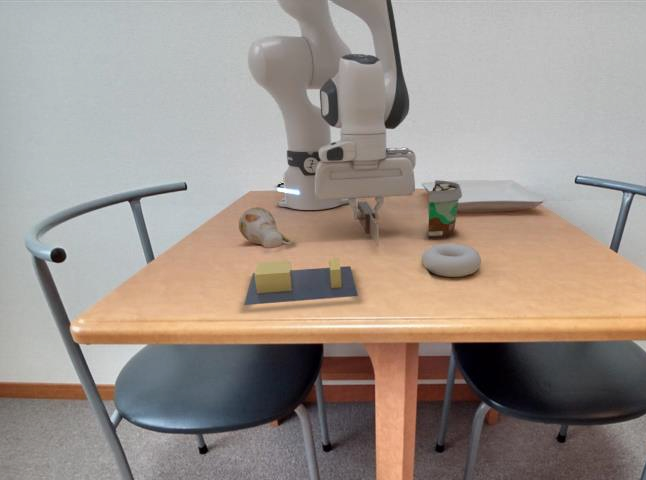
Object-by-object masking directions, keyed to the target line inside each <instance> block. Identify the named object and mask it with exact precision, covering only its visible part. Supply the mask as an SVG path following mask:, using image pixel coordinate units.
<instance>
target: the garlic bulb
mask: <svg viewBox="0 0 646 480" xmlns="http://www.w3.org/2000/svg"><path fill="white" fill-rule="evenodd" d="M277 225H278V224H277V222H276V219H275V217H274V215H273V214H272V212H270V211H269V210H267V209H265V208H263V207H260V206H259V207H257V206H256V207H251V208H248V209H246V210H245V211H244V212H243V213H242V214H241V216H240V218H239V221H238V230H239V232H240V234H241V236H243V237H244V239H246V241H248V242H250V243H253V244H257V245H261V246H262V247H264V248H265V249H273V248H276V247H280V246H281V245H282V246H283V245H293V242H292V241H291V240H290V239H289V238H287V237H286V236H285V235H284V234H282V233H281V232H280V231H278V226H277Z"/></svg>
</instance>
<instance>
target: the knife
mask: <svg viewBox="0 0 646 480" xmlns="http://www.w3.org/2000/svg"><path fill="white" fill-rule="evenodd" d="M372 209H373V208H372V207H371V205H370V204H369V203H368V201H367V200H365V201H363V200H362V201H357V210H361V211H362V220H358V222H359V224H360V225H361V228H362V229H363V232H364V233H365V235H370V237H371V238H372V241H373V243H374V244H375V247H376V248H378V249H379V248H380V241H379V240H380V239H379V224H378V223H377V221H376V219H375V213H374V211H373V210H372Z"/></svg>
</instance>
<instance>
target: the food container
mask: <svg viewBox="0 0 646 480" xmlns="http://www.w3.org/2000/svg"><path fill="white" fill-rule="evenodd" d="M449 181H450V180H439V179H438V180H437V179H435V180H434V182H435V187H434V188H433V190H432V191H429V194H428V228H427V229H428V231H427V233H428V234H427V239H428V240H443V239H448V238H450V237H452V236H454V234H455V228H456V222H457V221H456V219H457V207H458V199H460V198H461V197H462V193H461V188H460V185H459V184H457V183H454V182H449Z"/></svg>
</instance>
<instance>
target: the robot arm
mask: <svg viewBox="0 0 646 480" xmlns="http://www.w3.org/2000/svg"><path fill="white" fill-rule="evenodd" d="M276 1H277V3H278V5H279V7H280V8H281V9H282V11H284V12H285V13H286V14H287V15H288V16H290V17H292V18H293V19H294V20H296V22H297V24H298V26H299V28H300V34H301V36H293V35H292V36H291V35H270V36H263V37H261V38H255V39H254V41H252V43H251V45H250V46H249V50H248V53H247V65H248V69H249V72H250V74H251V77H252V78H253V80H254V81H255V82H256V84H258V86H260V87H261V88H263V89H264V90H265V91H266V92H267V93H268V94H269V95H270V96H271V97H272V98H273V100H274V101H275V103H276V104H277V106H278V108H279V110H280V113H281V115H282V118H283V122H284V127H285V135H286V142H287V150H286V160H287V165H288V168H287V169H286V170H285V172H284V173H283V176H282V177H283V178H282V179H283V181H282V182H284V183H281V182H280V183H281V184H279V183H278V184H277V186H276V189H277V192H280V193H284V197H283V198H281V200H279V201H278V207H281V208H289V209H293V210H297V211H298V210H301V211H319V210H320V211H321V210H327V209H332V208H337V207H339V206H341V205H346V204H348V205H349V206H350V208H351V209H352V211H353V215H354V216H353V217H354V221H359V220H362V211H361V210H358V208H357V207H356V205H355V204H357V199H367V198H368V199H369V198H370V199H371V198H374V200H375V202H376V203H375V206H374V208H372V210H373V211H374V213H375V220H377V219H379V211H380V210H381V207H382V205H383V204H384V198H389V197H405V196H412V195H413V194H414V192H415V191H416V181H415V172H414V169H415V168H416V164H417V163H416V161H417V160H416V159H417V157H416V154H415V152H414V151H413V150H411V149H409V147H399V148H398V147H387V130H395V129H397V127H398V126H400V125H401V124H402V123H403V122H404V121H405V119H406V118H407V116H408V114H409V111H410V95H409V90H408V86H407V83H406V81H405V76H404V71H403V66H402V58H401V52H400V46H399V39H398V33H397V27H396V20H395V14H394V10H393V9H394V8H393V3H392V0H276ZM329 1H330V2H331V3H333V4H335V5H337V6H338V7H339V8H342V9H343V10H346V11H348V12H349V13H352V14H354V15H355V16H357V17H358V18H359V19H361V20H362V21H363V22H364V23H365V24H366V26H367V27H368V29H369V31H370V33H371V36H372V41H373V47H374V53H375V55H371V54H364V53H363V54H362V53H353V52H352V50H351V48H350V47H349V46H348V44H347V43H346V42H345V41H344V40H343V39H342V38H341V37H340V35H339V33H338V31H337V30H336V27H335V25H334V23H333V20H332V16H331V13H330V8H329ZM307 90H319V103H320V107H319V106H317V105H316V104H315V105H314V104H313V103H312V101H311V100H310V99H309V98H310V97H309V96H308V91H307ZM331 128H336V129H340V133H339V134H340V135H339V136H340V139H339V140H336V141H333V142H332V134H331V131H332V130H331ZM281 186H283V188H281Z"/></svg>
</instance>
